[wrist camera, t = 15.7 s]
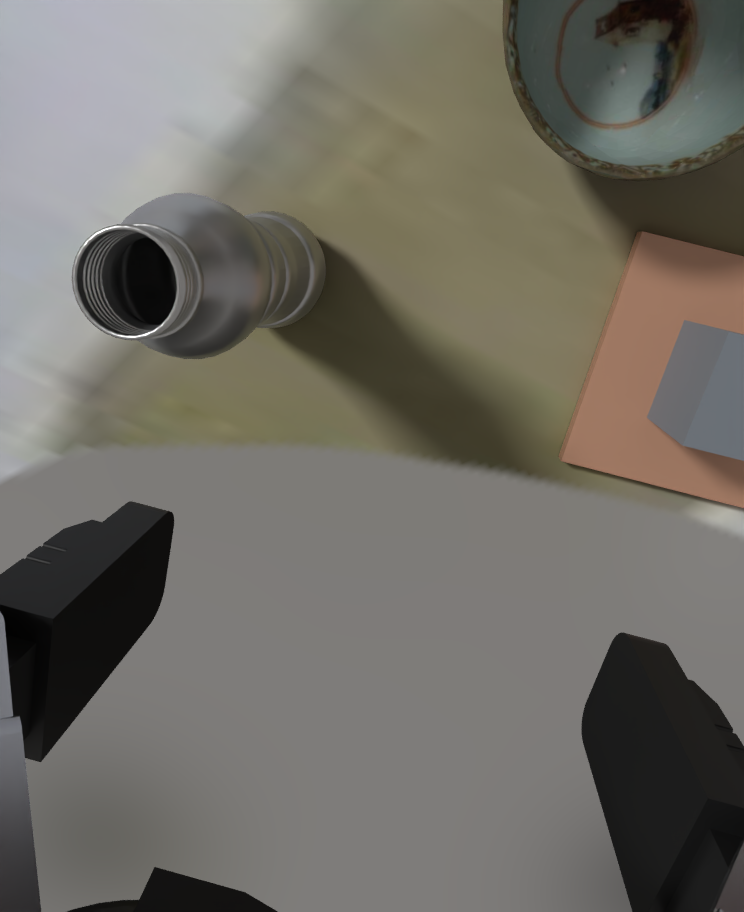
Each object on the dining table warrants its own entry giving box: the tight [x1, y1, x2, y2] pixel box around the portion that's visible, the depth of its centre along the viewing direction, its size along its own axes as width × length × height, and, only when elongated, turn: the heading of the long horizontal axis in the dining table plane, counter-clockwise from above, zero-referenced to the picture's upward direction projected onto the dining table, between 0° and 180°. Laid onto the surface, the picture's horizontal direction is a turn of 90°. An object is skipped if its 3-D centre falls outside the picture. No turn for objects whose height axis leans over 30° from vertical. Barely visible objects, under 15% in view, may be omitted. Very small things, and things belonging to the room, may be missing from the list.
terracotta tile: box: [559, 231, 744, 508], centre depth 38 cm, size 14×14×1 cm
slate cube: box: [647, 320, 744, 461], centre depth 35 cm, size 6×6×6 cm
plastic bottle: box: [72, 193, 326, 359], centre depth 30 cm, size 6×7×20 cm
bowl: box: [503, 0, 744, 181], centre depth 30 cm, size 14×13×8 cm
